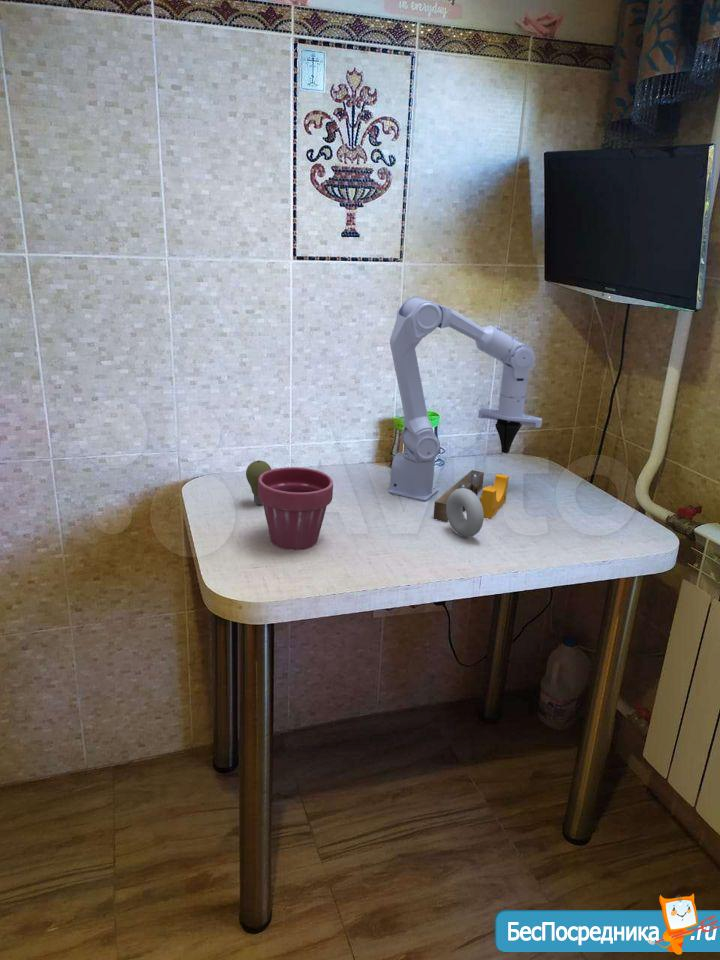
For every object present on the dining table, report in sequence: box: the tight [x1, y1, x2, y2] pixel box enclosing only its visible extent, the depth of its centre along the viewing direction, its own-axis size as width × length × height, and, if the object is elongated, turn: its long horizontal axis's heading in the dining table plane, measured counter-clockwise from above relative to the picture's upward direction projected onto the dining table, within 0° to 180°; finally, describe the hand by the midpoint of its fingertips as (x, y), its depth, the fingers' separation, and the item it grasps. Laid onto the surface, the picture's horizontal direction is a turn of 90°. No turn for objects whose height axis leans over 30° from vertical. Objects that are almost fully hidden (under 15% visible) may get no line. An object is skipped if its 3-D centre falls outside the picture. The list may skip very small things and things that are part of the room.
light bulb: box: [245, 459, 273, 506], centre depth 153 cm, size 6×6×10 cm
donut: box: [446, 488, 485, 538], centre depth 143 cm, size 10×3×10 cm, turn 30°
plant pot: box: [258, 466, 334, 551], centre depth 137 cm, size 14×14×13 cm
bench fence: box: [433, 469, 485, 523], centre depth 160 cm, size 4×24×6 cm, turn 153°
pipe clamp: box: [479, 473, 510, 520], centre depth 158 cm, size 12×4×6 cm, turn 154°
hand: (505, 451), depth 168 cm, fingers closed
